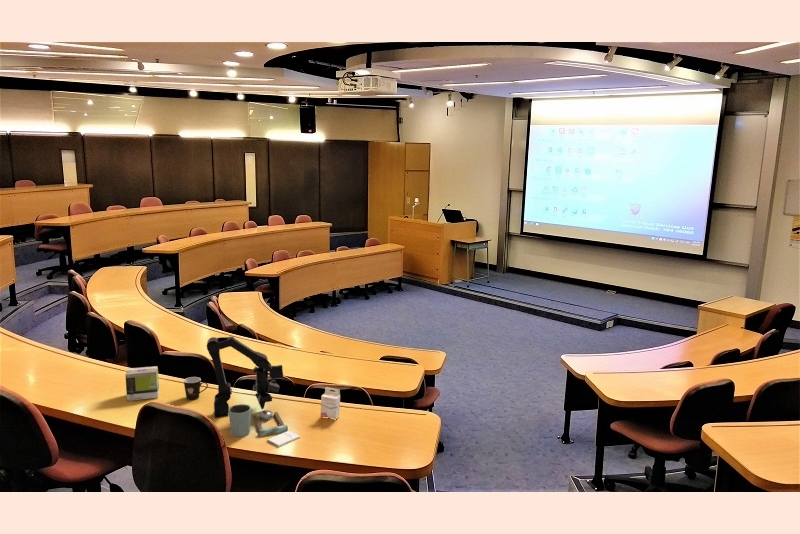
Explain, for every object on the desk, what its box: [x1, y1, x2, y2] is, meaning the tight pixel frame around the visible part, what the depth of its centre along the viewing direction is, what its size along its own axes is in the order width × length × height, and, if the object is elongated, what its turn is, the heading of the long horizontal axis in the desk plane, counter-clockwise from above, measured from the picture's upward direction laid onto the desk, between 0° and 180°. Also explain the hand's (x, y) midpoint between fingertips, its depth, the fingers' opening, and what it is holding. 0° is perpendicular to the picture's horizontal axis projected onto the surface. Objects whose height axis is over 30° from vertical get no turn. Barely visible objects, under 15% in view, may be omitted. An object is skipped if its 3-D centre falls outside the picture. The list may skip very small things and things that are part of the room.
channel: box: [252, 411, 289, 437], centre depth 274 cm, size 13×20×2 cm, turn 25°
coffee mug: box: [183, 376, 209, 401], centre depth 301 cm, size 12×9×10 cm
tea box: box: [125, 365, 160, 401], centre depth 301 cm, size 15×10×15 cm
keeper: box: [259, 409, 273, 422], centre depth 281 cm, size 6×6×3 cm
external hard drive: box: [266, 430, 301, 448], centre depth 260 cm, size 2×8×12 cm
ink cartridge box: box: [320, 387, 341, 419], centre depth 283 cm, size 9×5×15 cm, turn 74°
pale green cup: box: [228, 403, 252, 438], centre depth 264 cm, size 10×10×12 cm
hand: (262, 408), depth 289 cm, fingers closed
